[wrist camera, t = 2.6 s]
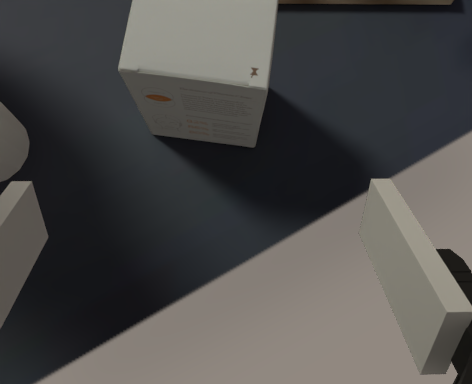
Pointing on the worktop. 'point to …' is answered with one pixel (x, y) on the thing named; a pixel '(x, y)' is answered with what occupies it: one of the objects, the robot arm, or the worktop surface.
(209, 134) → the small box
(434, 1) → the tower base
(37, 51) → the worktop surface
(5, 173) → the shot glass
